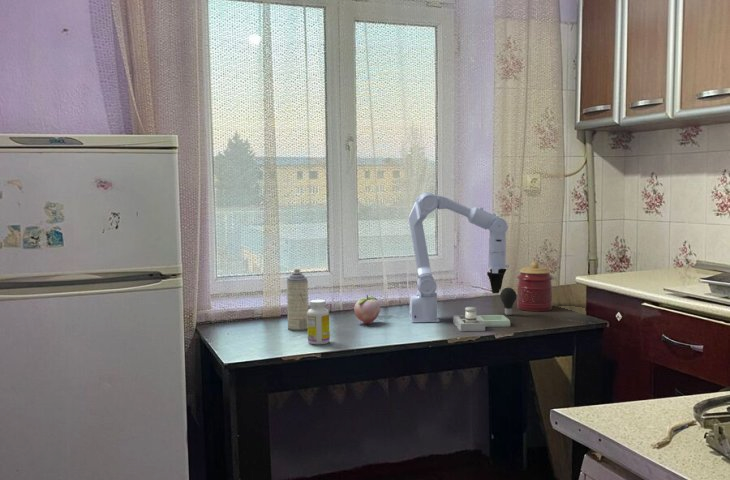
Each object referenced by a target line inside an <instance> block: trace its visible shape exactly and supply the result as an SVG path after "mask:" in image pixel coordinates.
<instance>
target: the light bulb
mask: <svg viewBox="0 0 730 480" xmlns="http://www.w3.org/2000/svg"><path fill="white" fill-rule="evenodd" d="M499 297H500V299H501V302H502V304H503V308H504V314H505V315H506V316H507V317H509V316H510V315H511V314H512V313H513V310H512V309H513V305H514V303H515V301H517V300H516V299H517V291H515V289H513V288H512V287H505V288H503V289H502V290H501V292H500V295H499Z"/></svg>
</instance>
